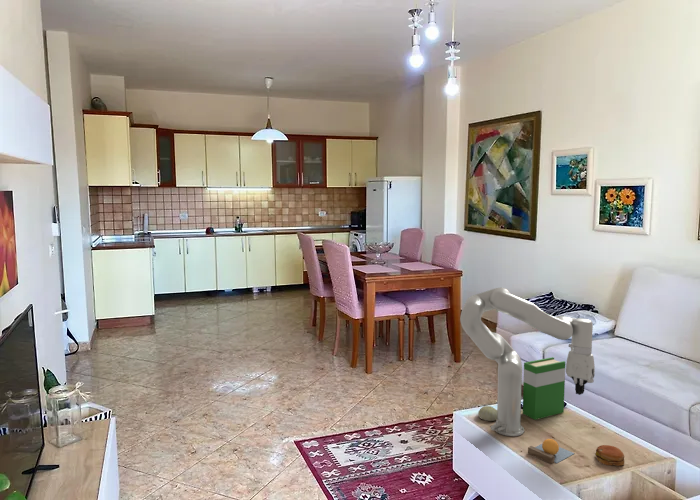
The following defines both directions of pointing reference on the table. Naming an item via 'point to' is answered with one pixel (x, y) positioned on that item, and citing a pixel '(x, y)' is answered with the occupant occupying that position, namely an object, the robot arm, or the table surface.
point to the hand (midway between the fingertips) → (579, 393)
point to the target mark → (560, 455)
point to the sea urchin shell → (488, 413)
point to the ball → (550, 446)
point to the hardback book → (543, 388)
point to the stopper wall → (541, 454)
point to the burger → (610, 455)
